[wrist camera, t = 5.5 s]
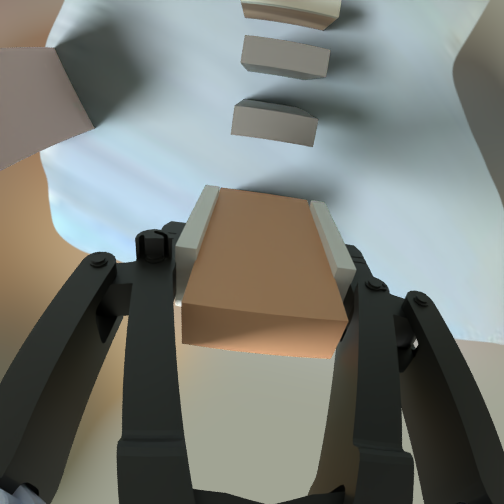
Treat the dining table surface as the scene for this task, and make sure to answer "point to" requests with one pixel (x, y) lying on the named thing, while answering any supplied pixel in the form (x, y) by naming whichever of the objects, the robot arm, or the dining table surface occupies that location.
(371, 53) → the dining table surface
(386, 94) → the dining table surface
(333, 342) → the orange rectangular block
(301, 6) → the block
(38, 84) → the greeting card
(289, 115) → the domino
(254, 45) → the domino
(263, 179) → the dining table surface
